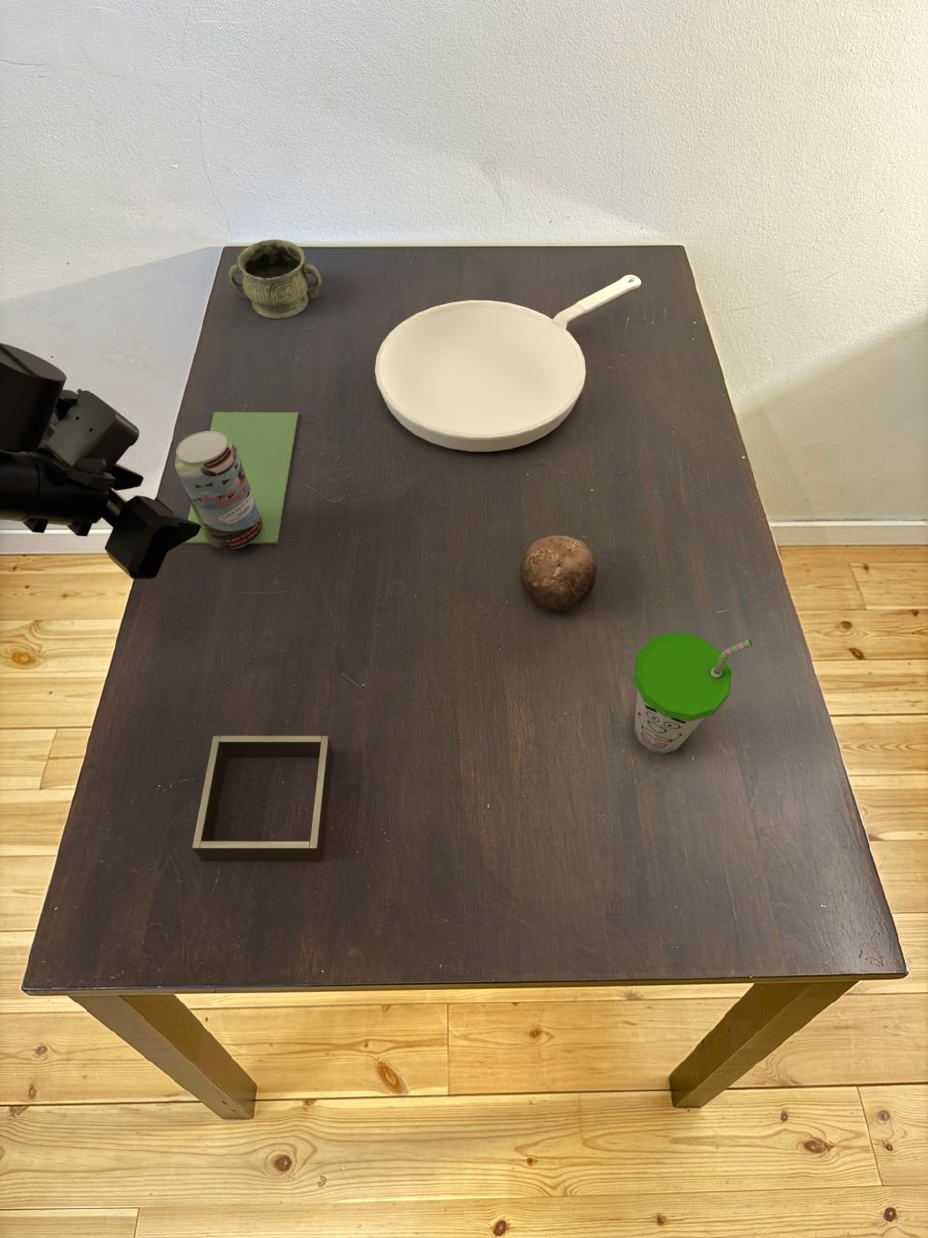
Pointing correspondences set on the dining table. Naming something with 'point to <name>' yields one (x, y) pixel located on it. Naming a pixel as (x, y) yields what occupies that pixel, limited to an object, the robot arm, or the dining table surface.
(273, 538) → the green mat
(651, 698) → the cup
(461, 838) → the dining table surface
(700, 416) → the dining table surface
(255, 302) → the vessel
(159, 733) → the dining table surface
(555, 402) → the pan
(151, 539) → the robot arm
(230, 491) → the beverage can
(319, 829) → the frame
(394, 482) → the dining table surface
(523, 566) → the mushroom
